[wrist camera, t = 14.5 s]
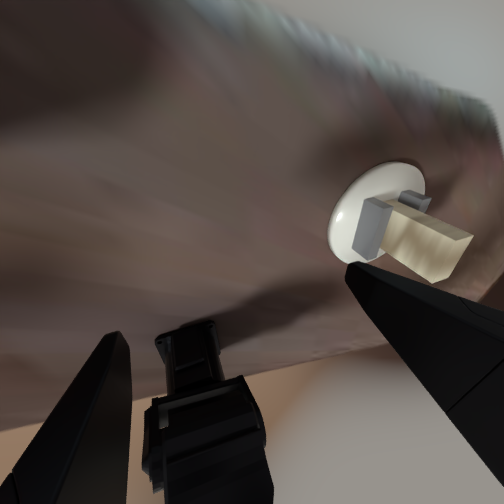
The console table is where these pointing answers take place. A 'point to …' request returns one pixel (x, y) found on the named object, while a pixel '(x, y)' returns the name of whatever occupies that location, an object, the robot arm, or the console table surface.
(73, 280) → the console table surface
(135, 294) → the console table surface
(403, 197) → the dish
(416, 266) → the block
